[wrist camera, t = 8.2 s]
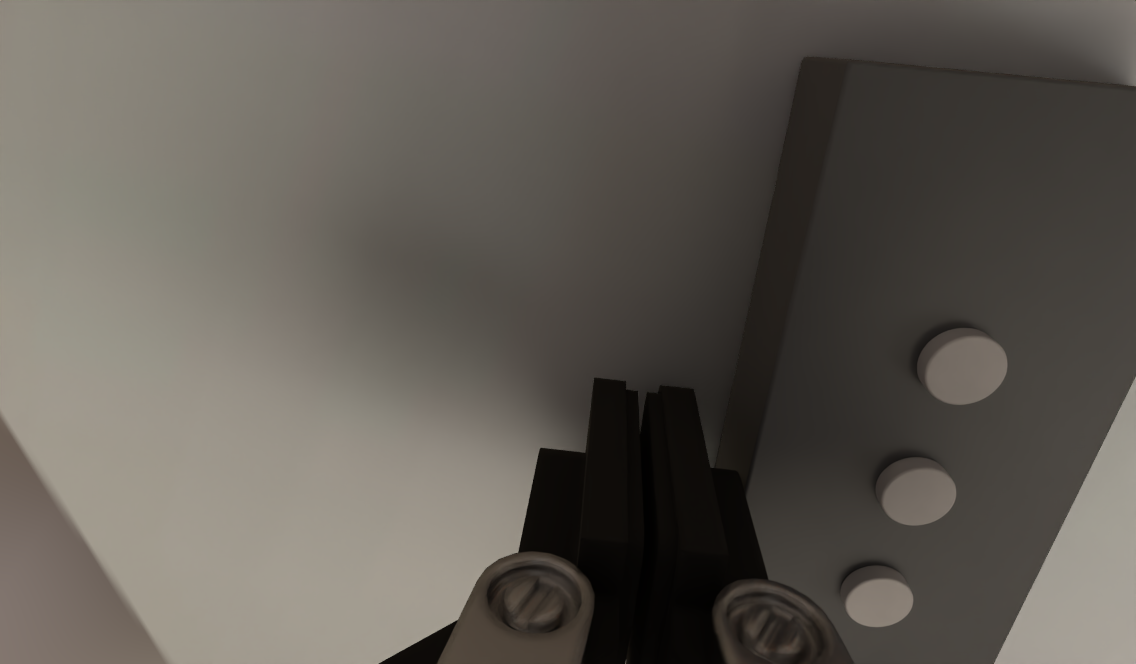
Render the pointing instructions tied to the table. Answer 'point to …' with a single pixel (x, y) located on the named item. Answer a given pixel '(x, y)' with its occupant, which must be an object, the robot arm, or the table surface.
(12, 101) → the table surface
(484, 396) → the table surface
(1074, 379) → the remote
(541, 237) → the table surface
